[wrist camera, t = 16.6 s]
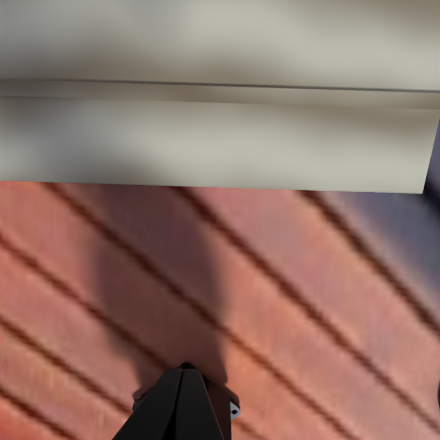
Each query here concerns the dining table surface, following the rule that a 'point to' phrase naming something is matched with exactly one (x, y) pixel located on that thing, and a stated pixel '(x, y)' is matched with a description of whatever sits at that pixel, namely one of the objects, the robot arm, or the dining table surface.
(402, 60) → the laid plank
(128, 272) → the dining table surface
